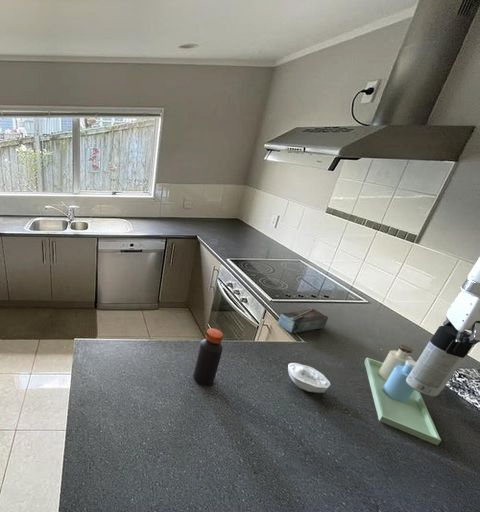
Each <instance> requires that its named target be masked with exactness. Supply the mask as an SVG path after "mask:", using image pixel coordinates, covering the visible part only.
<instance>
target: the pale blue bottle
mask: <svg viewBox="0 0 480 512" xmlns="http://www.w3.org/2000/svg"><path fill="white" fill-rule="evenodd" d="M413 360H414V359H413ZM413 360H407V361H406V362H405V363H406V364H405V366H402V365H397V366H395V368H394V370H393V372H392V373H391V375H390V377H389V378H388V380H387V382H386V383H385V385H384V387H383V388H382V390H383V392H384V393H385V394H386V395H387V396H389V397H390V398H392V399H394V400H396V401H399V402H406V401H407V400H408V399H409V397H410V396H411V394H412V392H413V391H414V389H413V388H412V387H410V386H409V385H408V384H407V382H406V379H407V377H408V375H409V374H410V372H411V370H412V369H413V367H414V366H415V364H416V362H417V361H415V360H414V361H413Z"/></svg>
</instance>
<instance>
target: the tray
mask: <svg viewBox="0 0 480 512" xmlns="http://www.w3.org/2000/svg"><path fill="white" fill-rule="evenodd" d="M363 362H364V366H365V370H366V373H367V378H368V381H369V386H370V390H371V394H372V397H373V402H374V407H375V410H376V414H377V419H378V421H379V422H381V423H383V424H386V425H387V426H390V427H392V428H395V429H397V430H400V431H402V432H403V433H404V432H405V433H407V434H409V435H411V436H414V437H415V438H419V439H421V440H423V441H426V442H428V443H430V444H433V445H436V446H439V444H440V443H441V442H442V438H441V437H440V435H439V433H438V430H437V428H436V426H435V423H434V421H433V418H432V416H431V414H430V412H429V409H428V408H427V405H426V403H425V400H424V398H423V396H422V393H420V392H418V391H416V390H415V389H414V391H413V392H412V394H411V396H410V397H409V399H408V400H407V401H406V402H399V401H396V400H394V399H392V398H390V397H389V396H387V395H386V394H385V393H384V392H383V390H382V388H383V387H384V385H385V383H386V382H387V381H385V380H383V379H382V378H381V377H380V376H379V375H378V371H379V369H380V368H381V366H382V364H383V362H382V361H379V360H376V359H373V358H370V357H365V359H364V361H363Z"/></svg>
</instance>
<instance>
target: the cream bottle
mask: <svg viewBox="0 0 480 512" xmlns="http://www.w3.org/2000/svg"><path fill="white" fill-rule="evenodd" d="M413 352H414V349H413V348H412V347H410V346H408V345H405V344H400V345H399V346H398V350H393V349H392V350H391V349H390V350H389V352H388V354H387V355H386V357H385V358H384V361H383V362H382V363H383V364H382V366H381V368H380V369H379V371H378V375H379V376H380V377H381V378H382V379H383V380H385V381H387V380H388V378H389V377H390V375H391V373H392V372H393V370H394V368H395V366H397V365H402V366H405V364H406V363H405V362H406V361H407V360H413V361H415V360H414V358H413V357H411V356H410V355H411V354H412V353H413Z"/></svg>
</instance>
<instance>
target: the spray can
mask: <svg viewBox="0 0 480 512" xmlns="http://www.w3.org/2000/svg"><path fill="white" fill-rule="evenodd" d="M464 331H465V332H468V330H466V329H465V330H464ZM457 333H458V330H457V329H456V328H455V327H454V326H443V325H439V326H438V327H437V329H436V330H435V332H434V334H433V335H432V337H431V338H430V340H429V341H428V343H427V344H426V346H425V348H424V349H423V351H422V352H421V355H420V356H419V357H418V359H417V361H415V362H416V364H415V366H414V367H413V369H412V370H411V372H410V374H409V375H408V377H407V379H406V382H407V384H408V385H409V386H410V387H412V388H413V389H415V390H416V391H418V392H420V394H421V395H425V396H429V397H437V396H439V395H440V394H441V392H442V391H443V390H444V388H445V387H446V385H447V384H448V382H449V381H450V380H451V379H452V377H453V376H454V374H455V373H456V371H457V370H458V369H459V367H460V366H461V364H462V363H463V361H464V360H465V359H466V357H467V356H468V354H469V352H470V351H471V349H472V348H473V347H471V349H470V350H469V351H468V353H467V354H466V356H465V357H464V358H461V357H457V356H454V355H451V354H447V353H446V352H445V350H446V349H447V347H448V346H449V344H450V343H451V341H452V340H455V339H456V336H457ZM469 336H470V335H466V334H463V337H462V338H464V337H469Z"/></svg>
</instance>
